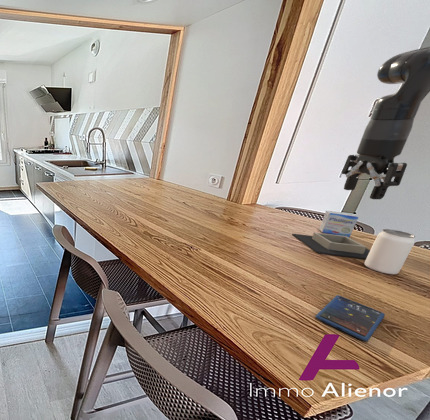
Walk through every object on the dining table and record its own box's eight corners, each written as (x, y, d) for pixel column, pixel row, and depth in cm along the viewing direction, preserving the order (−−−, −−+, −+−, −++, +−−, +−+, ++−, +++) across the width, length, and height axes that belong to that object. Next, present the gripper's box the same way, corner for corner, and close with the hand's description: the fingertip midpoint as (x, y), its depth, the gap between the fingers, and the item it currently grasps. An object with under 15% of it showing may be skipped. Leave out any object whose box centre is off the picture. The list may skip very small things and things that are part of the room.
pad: (351, 241, 91) (355, 234, 90) (389, 263, 77) (394, 254, 76) (291, 234, 97) (294, 227, 96) (316, 253, 83) (320, 244, 82)
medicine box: (321, 232, 99) (329, 212, 96) (318, 229, 103) (326, 209, 100) (349, 237, 95) (359, 216, 92) (345, 233, 98) (354, 213, 95)
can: (401, 278, 69) (422, 239, 65) (365, 269, 73) (383, 233, 69) (394, 268, 74) (413, 232, 70) (361, 261, 78) (377, 226, 74)
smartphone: (315, 315, 54) (337, 294, 61) (313, 318, 54) (335, 296, 61) (368, 340, 47) (386, 313, 54) (366, 343, 48) (384, 316, 55)
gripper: (434, 138, 58) (403, 202, 64) (376, 133, 71) (355, 187, 77) (393, 140, 60) (367, 202, 66) (344, 135, 72) (326, 187, 78)
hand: (361, 194), depth 71 cm, fingers open, 8 cm apart
